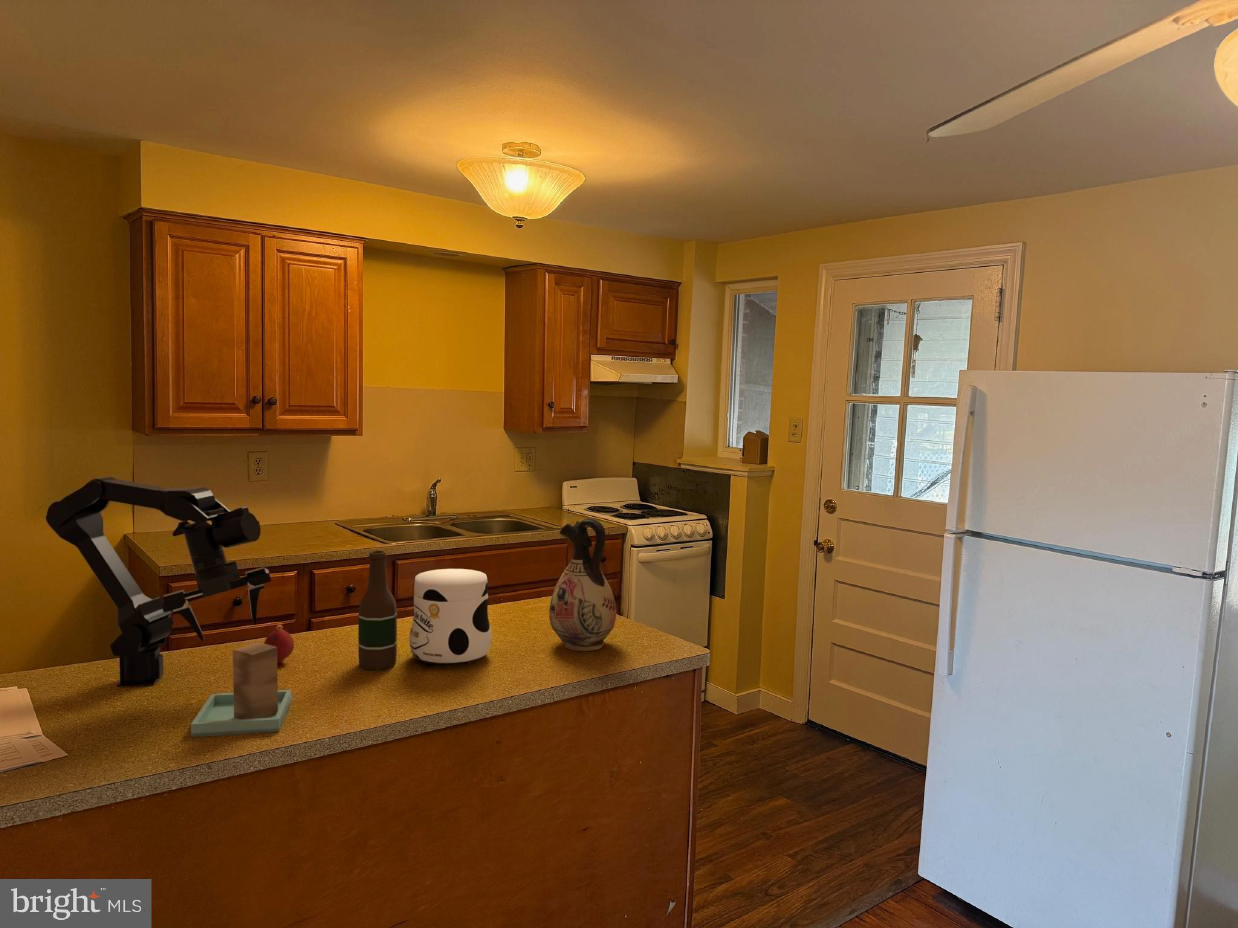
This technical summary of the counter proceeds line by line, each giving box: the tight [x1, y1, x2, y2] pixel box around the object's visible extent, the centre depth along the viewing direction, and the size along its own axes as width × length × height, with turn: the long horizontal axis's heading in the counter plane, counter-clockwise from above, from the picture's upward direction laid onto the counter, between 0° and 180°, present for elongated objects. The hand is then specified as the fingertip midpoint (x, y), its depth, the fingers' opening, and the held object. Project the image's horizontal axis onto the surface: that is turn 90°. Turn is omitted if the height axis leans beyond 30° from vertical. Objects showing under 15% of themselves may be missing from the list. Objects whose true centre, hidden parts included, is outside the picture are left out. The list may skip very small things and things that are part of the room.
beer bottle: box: [357, 550, 398, 671], centre depth 173 cm, size 8×8×24 cm
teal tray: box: [190, 689, 293, 738], centre depth 145 cm, size 14×14×2 cm
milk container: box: [408, 568, 493, 667], centre depth 178 cm, size 17×17×18 cm
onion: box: [263, 624, 295, 664], centre depth 173 cm, size 6×6×8 cm
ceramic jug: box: [548, 518, 617, 652], centre depth 189 cm, size 17×15×30 cm
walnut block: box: [232, 641, 279, 719], centre depth 144 cm, size 5×5×12 cm
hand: (229, 632), depth 158 cm, fingers open, 9 cm apart
